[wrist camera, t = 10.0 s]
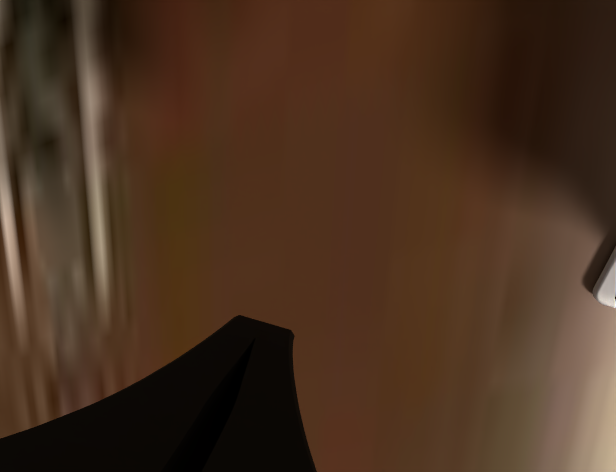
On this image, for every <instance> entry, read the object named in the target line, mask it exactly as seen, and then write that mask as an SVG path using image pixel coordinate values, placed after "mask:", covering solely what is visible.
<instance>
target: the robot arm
mask: <svg viewBox="0 0 616 472" xmlns="http://www.w3.org/2000/svg"><path fill="white" fill-rule="evenodd" d="M592 293H593V296H594V298H595V299H596V300H597V301H598V302H599V303H601V304H603V305H606V306H610V307H613V308H616V299H615V296H616V247H615V249H614V251H613V253H612V254H611V256H610V258H609V260H608V262H607V264H606V266H605V267H604V269H603V271H602V273H601V275H600V277H599V279H598V281H597V282H596V284H595V286H594V288H593V292H592ZM293 340H294V334H293V333H292V331H291V330H289V329H285V328H282V327H279V326H275V325H272V324H268V323H265V322H261V321H258V320H255V319H251V318H248V317H244V316H241V315H238V316H236V317H234V318H233V319H231V320H230V321H229V322H228V323H226V324H225V325H224V326H223V327H221V328H220V329H219V330H217V331H216V332H215V333H213V334H212V335H211V336H209V337H208V338H206V339H205V340H204V341H202V342H201V343H199V344H198V345H196V346H195V347H194V348H192V349H191V350H189V351H188V352H186V353H185V354H183V355H182V356H180V357H179V358H177V359H176V360H174V361H172V362H171V363H169V364H167V365H166V366H164V367H162V368H161V369H159V370H157V371H155V372H154V373H152V374H150V375H149V376H147V377H145V378H144V379H142V380H140V381H138V382H136V383H134V384H132V385H131V386H129V387H127V388H125V389H123V390H121V391H119V392H117V393H115V394H113V395H111V396H109V397H107V398H104V399H102V400H100V401H98V402H96V403H94V404H91V405H89V406H87V407H84V408H82V409H80V410H77V411H75V412H72V413H70V414H67V415H64V416H62V417H59V418H57V419H54V420H52V421H49V422H47V423H44V424H42V425H39V426H36V427H34V428H31V429H28V430H25V431H22V432H19V433H16V434H13V435H10V436H7V437H4V438H1V439H0V472H317V471H316V468H315V465H314V462H313V459H312V456H311V453H310V449H309V446H308V443H307V439H306V435H305V431H304V427H303V423H302V419H301V414H300V410H299V405H298V399H297V393H296V386H295V380H294V371H293Z"/></svg>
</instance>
